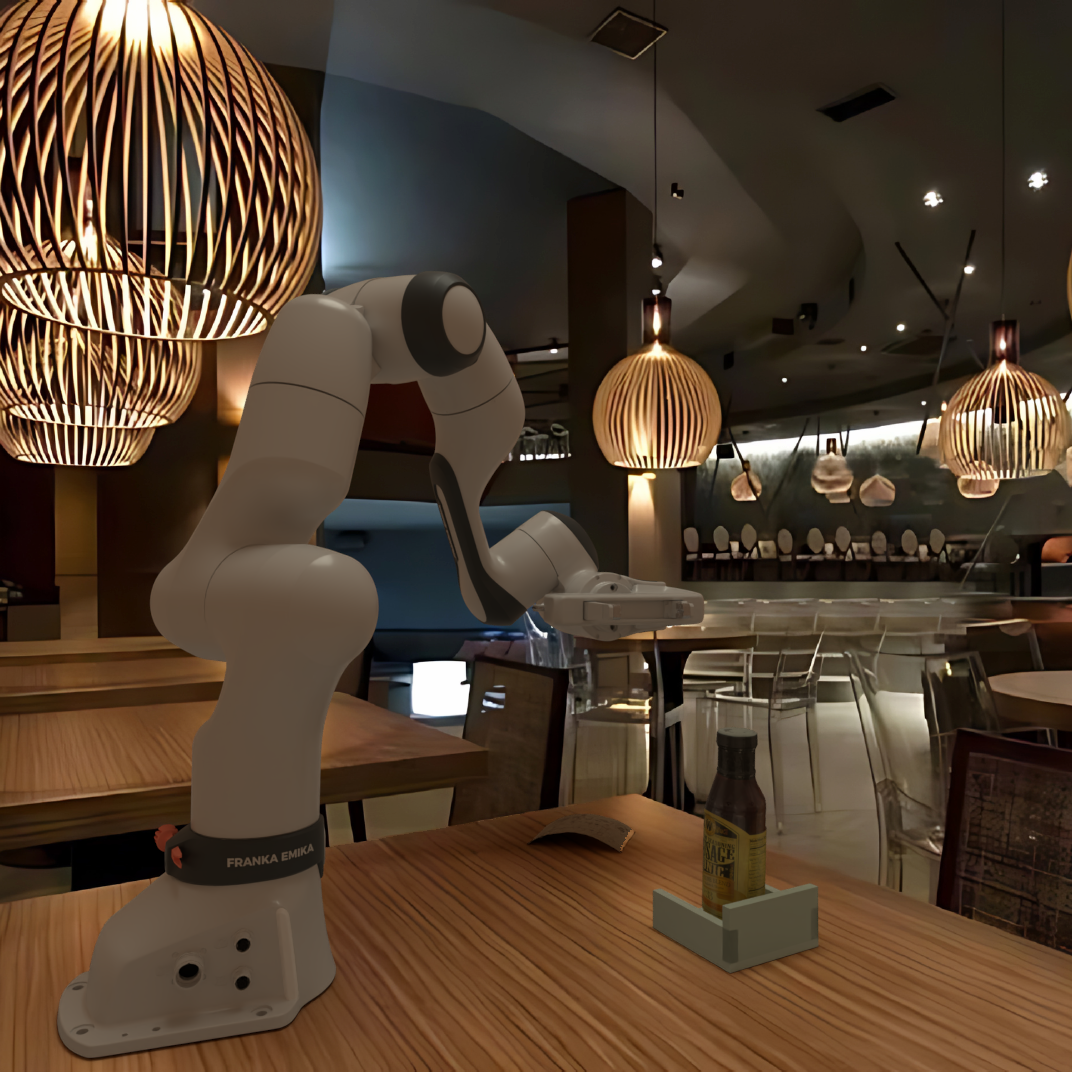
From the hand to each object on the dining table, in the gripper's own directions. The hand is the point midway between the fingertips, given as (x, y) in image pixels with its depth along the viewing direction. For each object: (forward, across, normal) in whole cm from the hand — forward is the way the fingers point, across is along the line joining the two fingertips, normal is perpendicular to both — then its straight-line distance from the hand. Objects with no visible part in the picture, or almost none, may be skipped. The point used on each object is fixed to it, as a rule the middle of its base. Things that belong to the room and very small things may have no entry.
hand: (652, 611), depth 100 cm
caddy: (+13, +2, +32) cm, 35 cm away
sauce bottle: (+13, +2, +31) cm, 34 cm away
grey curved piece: (-21, 0, +33) cm, 39 cm away
